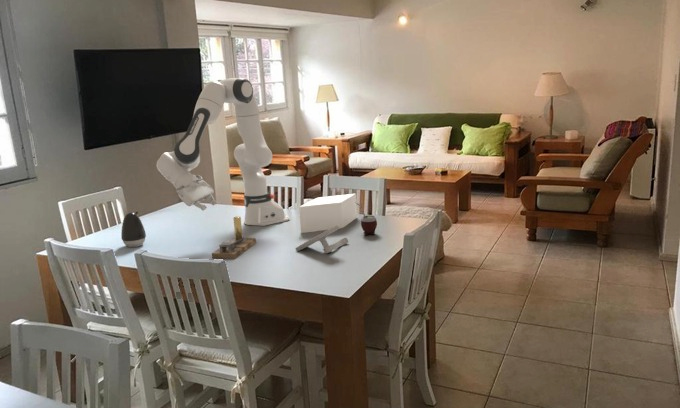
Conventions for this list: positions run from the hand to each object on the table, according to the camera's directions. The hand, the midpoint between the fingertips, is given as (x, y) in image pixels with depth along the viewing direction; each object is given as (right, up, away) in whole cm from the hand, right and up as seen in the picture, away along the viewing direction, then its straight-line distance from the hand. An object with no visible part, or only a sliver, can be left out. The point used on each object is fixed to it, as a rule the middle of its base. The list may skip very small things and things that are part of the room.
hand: (210, 206), depth 242 cm
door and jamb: (+11, -18, -5) cm, 22 cm away
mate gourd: (+68, -12, +9) cm, 69 cm away
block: (+51, -9, +29) cm, 59 cm away
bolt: (+12, -15, -1) cm, 19 cm away
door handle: (+49, -17, -7) cm, 52 cm away
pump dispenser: (-36, -17, +11) cm, 42 cm away
